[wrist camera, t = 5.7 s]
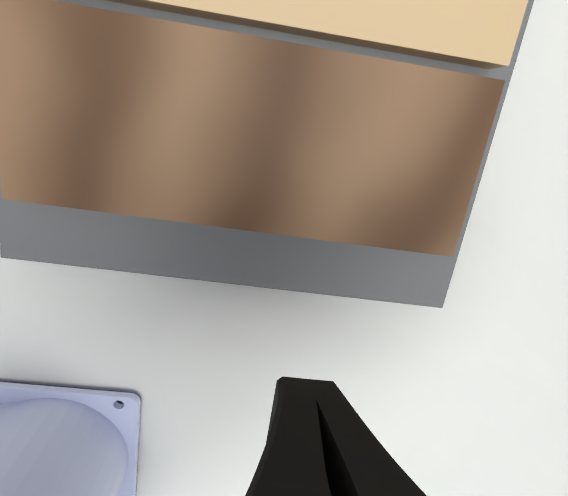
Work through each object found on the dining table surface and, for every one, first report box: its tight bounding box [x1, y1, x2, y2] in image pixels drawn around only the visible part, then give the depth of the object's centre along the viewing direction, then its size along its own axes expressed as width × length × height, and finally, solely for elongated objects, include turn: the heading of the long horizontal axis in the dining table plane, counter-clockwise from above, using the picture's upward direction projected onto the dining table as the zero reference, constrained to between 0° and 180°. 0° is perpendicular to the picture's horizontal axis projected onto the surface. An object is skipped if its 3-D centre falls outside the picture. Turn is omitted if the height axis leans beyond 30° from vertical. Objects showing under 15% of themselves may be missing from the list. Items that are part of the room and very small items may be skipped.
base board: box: [0, 0, 534, 308], centre depth 16 cm, size 20×18×2 cm
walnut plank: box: [0, 0, 505, 257], centre depth 16 cm, size 18×7×1 cm, turn 81°
